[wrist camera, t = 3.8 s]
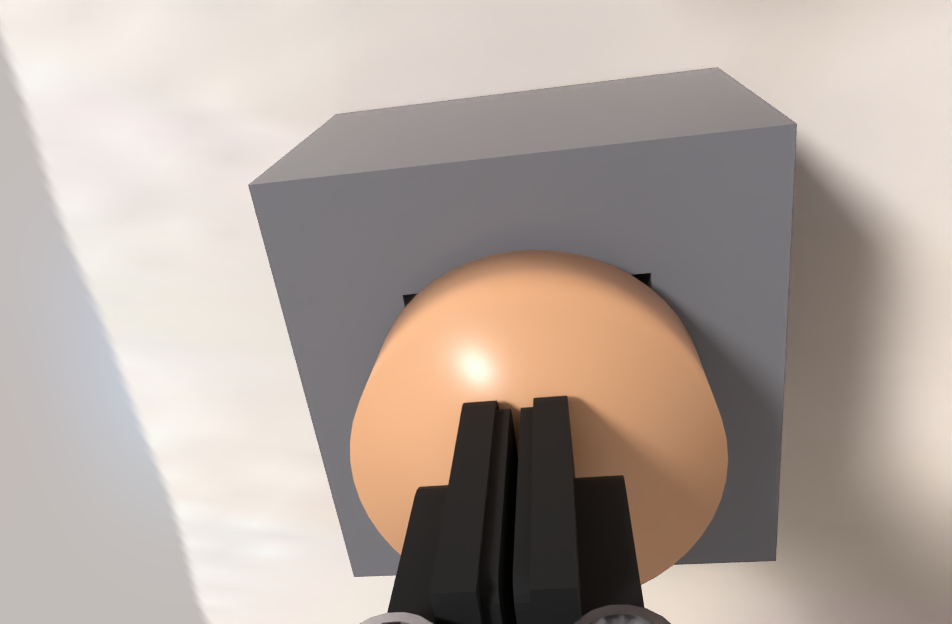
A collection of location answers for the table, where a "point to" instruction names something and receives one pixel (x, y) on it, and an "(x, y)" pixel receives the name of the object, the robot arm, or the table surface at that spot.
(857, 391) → the table surface
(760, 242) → the box
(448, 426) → the peach rounded piece
